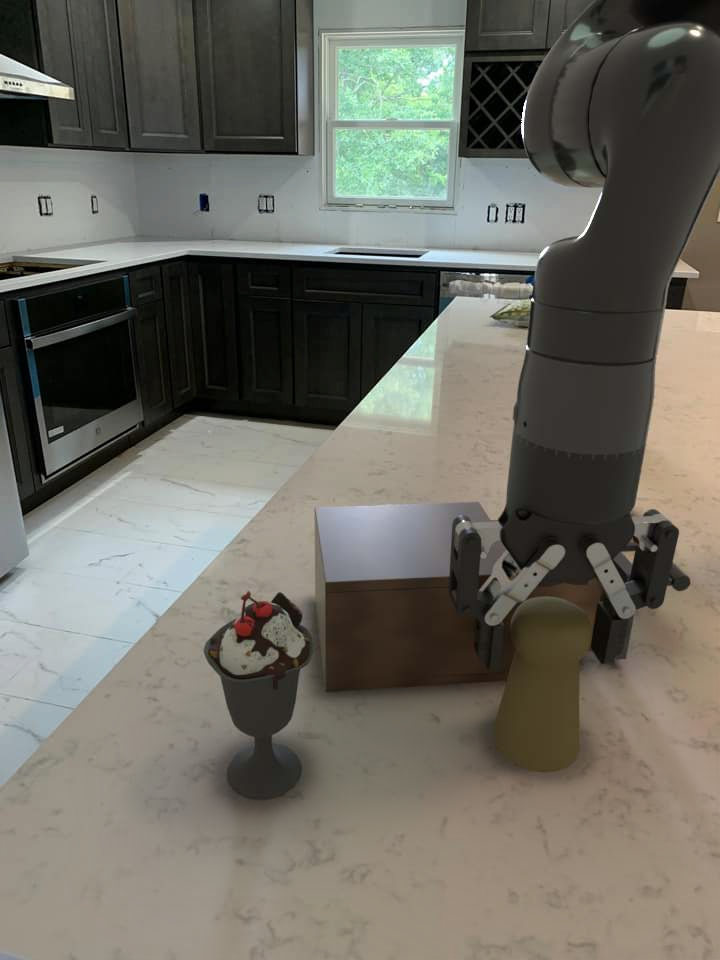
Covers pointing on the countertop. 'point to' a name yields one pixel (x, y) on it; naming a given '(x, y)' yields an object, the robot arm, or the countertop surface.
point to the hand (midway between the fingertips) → (546, 659)
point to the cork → (543, 685)
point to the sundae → (262, 690)
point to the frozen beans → (514, 313)
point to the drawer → (591, 595)
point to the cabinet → (396, 598)
